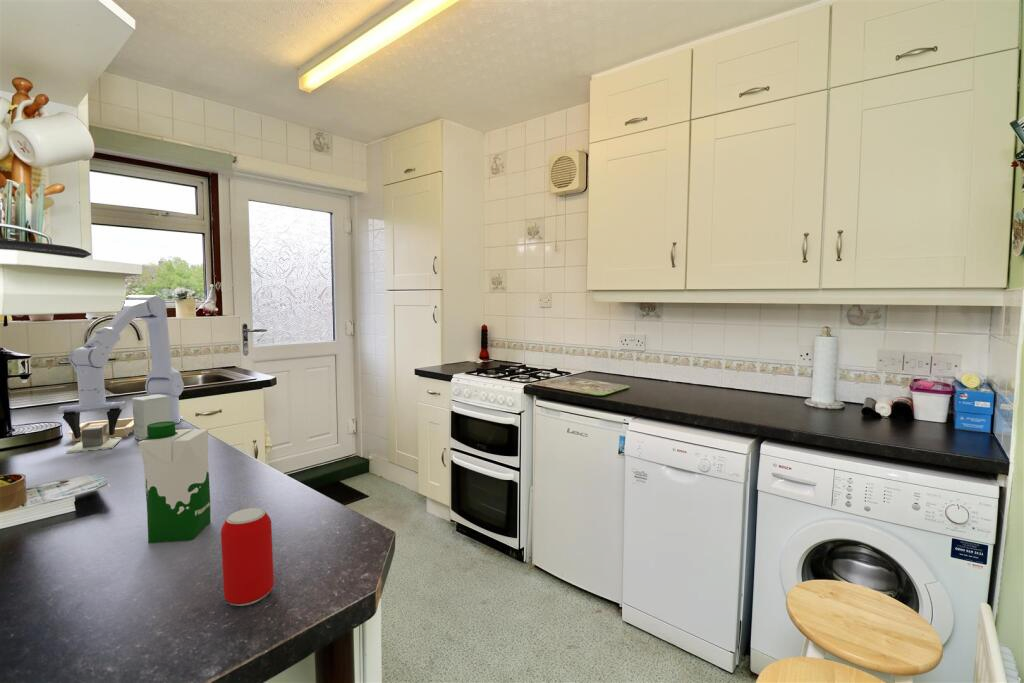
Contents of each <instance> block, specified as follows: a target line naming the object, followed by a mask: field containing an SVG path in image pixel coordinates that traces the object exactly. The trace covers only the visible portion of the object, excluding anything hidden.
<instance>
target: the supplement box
mask: <svg viewBox="0 0 1024 683" xmlns="http://www.w3.org/2000/svg"><path fill="white" fill-rule="evenodd" d="M131 403H132V415H133V416H132V418H133V419H134V439H135V438H136V439H135V440H138V439H139V440H138V441H141V440H143V439H145V438H146V437H147V436H148V434H147V426H148V425H149V424H152V423H157V422H166V421H171V411H170V396H165V395H160V394H156V395H149V394H148V395H145V396H144V395H143V396H137V397H132V398H131Z"/></svg>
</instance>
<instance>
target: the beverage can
mask: <svg viewBox="0 0 1024 683" xmlns="http://www.w3.org/2000/svg"><path fill="white" fill-rule="evenodd" d="M272 533H273V531H272V520H271V518H270V515H269V514H268V513H267V512H266V511H265V509H261V508H259V507H250V508H244V509H241V510H240V509H239V510H237V511H235V512H233V513H230V515H229V516H227V517H226V519H225V521H224V523H223V524H222V526H221V529H220V543H221V561H222V580H223V597H224V600H225V602H226V603H227V604H229V605H231V606H238V607H239V606H240V607H244V606H249V605H253V604H255V603H258V602H260V601H261V600H262V599H264V598H265V597H266V596H268V594H270V592H271V590H272V589H273V588H274V584H275V580H274V579H275V577H274V558H273V556H274V553H273V552H274V551H273V534H272Z"/></svg>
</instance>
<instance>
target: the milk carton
mask: <svg viewBox="0 0 1024 683" xmlns="http://www.w3.org/2000/svg"><path fill="white" fill-rule="evenodd" d="M147 434H148V436H147V437H146V438H145V439H143V440H142V441H141V440H139V441H138V443H137V444H138V447H139V450H140V454H141V457H142V461H143V467H144V468H143V469H144V471H143V472H144V483H145V484H144V485H145V486H144V487H145V499H146V516H147V522H146V523H147V543H148V544H154V543H155V544H156V543H168V542H181V541H182V542H183V541H184V542H186V541H193V540H195V538H196V537H197V536H199V534H200V533H202V532H203V530H205V528H207V526H209V525H210V523H211V491H210V490H211V488H210V471H209V448H208V447H209V429H208V428H205V429H204V428H202V429H201V428H200V429H199V428H198V429H194V428H186V429H176V423H175V422H171V421H166V422H157V423H152V424H149V425H148V426H147Z"/></svg>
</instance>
